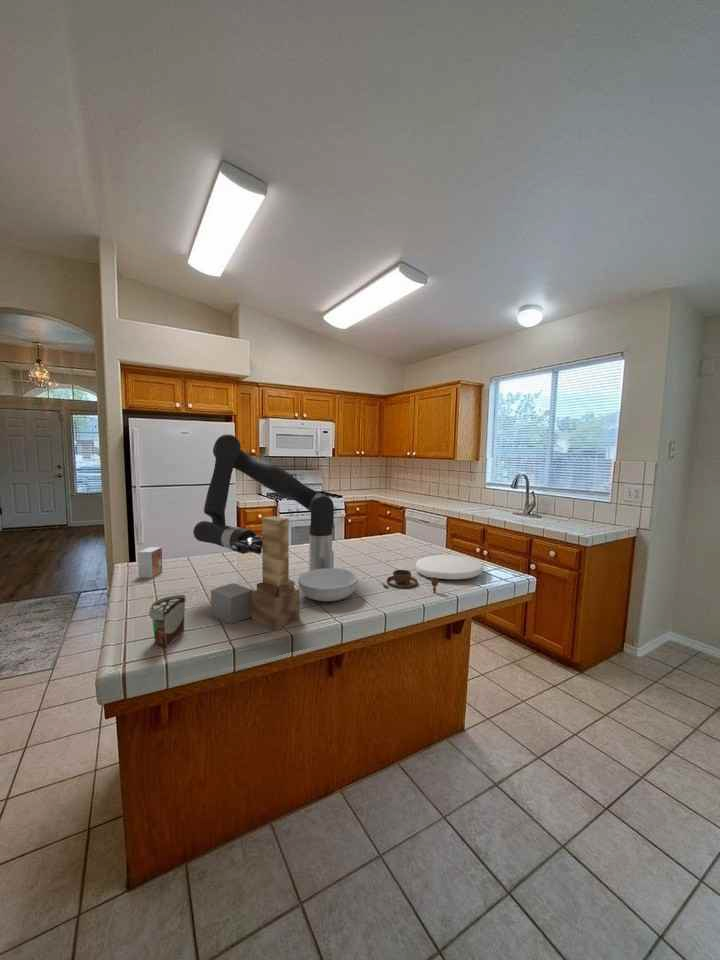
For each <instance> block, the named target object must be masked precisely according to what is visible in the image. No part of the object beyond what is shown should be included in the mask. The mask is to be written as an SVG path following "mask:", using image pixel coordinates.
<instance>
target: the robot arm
mask: <svg viewBox="0 0 720 960" xmlns="http://www.w3.org/2000/svg"><path fill="white" fill-rule="evenodd" d="M212 453H213V456H214V459H215V461H214V468H213V473H212V476H211V480H210V483H209V485H208V486H209V487H208V490H207V494H206V496H205V497H206V498H205V501H204V506H203V507H204V508H203V513H204V515H207V516H209V517H210V518H211V520H212V521H207V520H200V521H199V522H198V523H196V525H195V526H194V528H193V532H192V533H193V537H194V538H195V540H197V541H199V542H203V543H209V544H214V545H217V546H219V547H223V548H226V549H228V550H230V551H233V552H237V553H239V554H243V555H244V554H251V553H255V554H257V555H260V554H261V555H262V535H257V534H256V533H255V531H254V530H252V529H248V528H244V527H243V528H242V527H238V526H229V525H227V524H226V514H225V513H226V507H227V502H228V496H229V491H230V484H231V480H232V475H233V470H234V469H235V470H237V471H239V472H241V473H243V474H244V475H247V476H248V477H249V478H251V479H253V480H255V481H256V482H257V483H259V484H261V485H262V486H264V487H265V488H268V489H269V490H270V491H272V492H274V493H276V494H278V495H280V496H282V497H285V498H287V499H290V500H292V501H295V502H297V504H300V505H301V506H302V507H304V508H305V509H307V510H308V511H309V512H310V526H309V531H308V532H309V537H308V538H309V542H308V543H309V545H308V546H309V547H308V548H309V552H308V553H309V557H308V558H309V567H308V568H309V570H308V571H311V570H316V569H325V568H334V567H335V566H334V564H335V563H334V561H335V559H334V558H335V557H334V555H335V554H334V551H333V530H334V520H335V506H334V501H333V499H331V497H330V496H327V495H326V494H323V493H321V492H319V491H316V490H315V489H312V488H310V487H308V486H307V485H305V484H303V483H302V482H301V481H300V480H298V479H297V478H296V477H295V476H293V475H292V474H291V473H289V472H288V471H286V470H285V469H283V468H281V467H279V466H278V465H276V464H274V463H272V462H269V461H266V460H262V459H258V458H256V457H254V456H252V455H250V454H248V453H246V452H245V451H243V450H242V447H241V442H240V440H239V439H238V438H237V437H236V436H235V435H234V434H230V433H229V434H227V433H225V434H222V435H220V436H219V437H218V438H217V439H216V441H215V442H214V445H213V448H212Z"/></svg>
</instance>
